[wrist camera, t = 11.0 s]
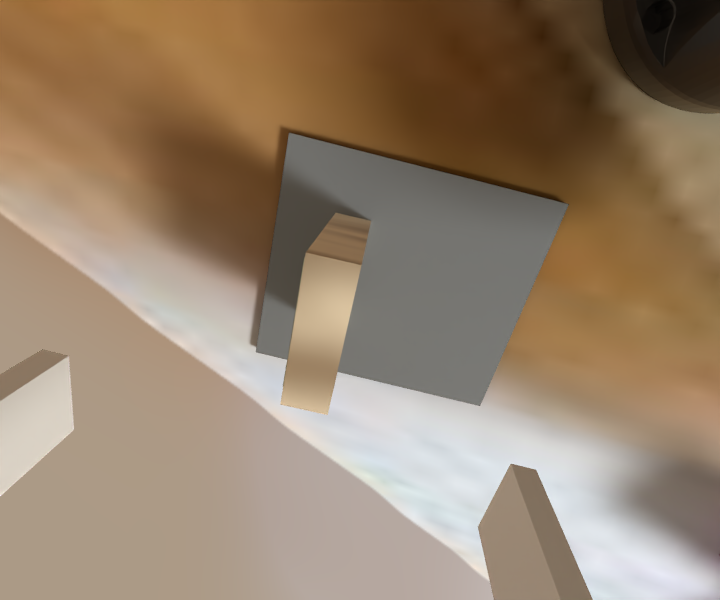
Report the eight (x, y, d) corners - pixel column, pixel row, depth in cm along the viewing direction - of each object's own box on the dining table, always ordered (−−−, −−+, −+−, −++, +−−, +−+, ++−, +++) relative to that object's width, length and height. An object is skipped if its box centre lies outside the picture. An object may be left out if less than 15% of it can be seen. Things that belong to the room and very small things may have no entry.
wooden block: (333, 212, 25) (302, 251, 16) (371, 220, 26) (361, 265, 16) (313, 319, 29) (277, 403, 19) (347, 326, 29) (327, 414, 19)
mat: (291, 133, 24) (289, 132, 24) (564, 202, 25) (568, 204, 24) (258, 348, 30) (255, 352, 30) (478, 401, 31) (479, 405, 30)
